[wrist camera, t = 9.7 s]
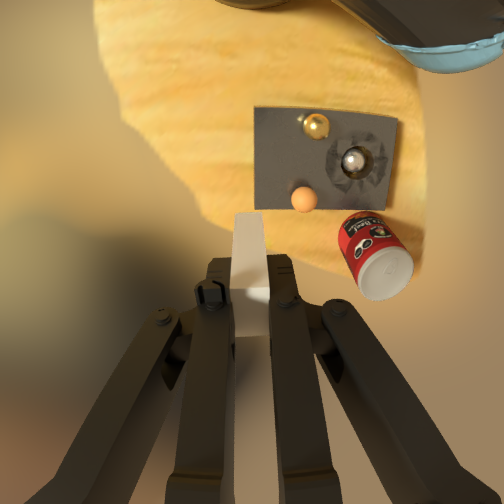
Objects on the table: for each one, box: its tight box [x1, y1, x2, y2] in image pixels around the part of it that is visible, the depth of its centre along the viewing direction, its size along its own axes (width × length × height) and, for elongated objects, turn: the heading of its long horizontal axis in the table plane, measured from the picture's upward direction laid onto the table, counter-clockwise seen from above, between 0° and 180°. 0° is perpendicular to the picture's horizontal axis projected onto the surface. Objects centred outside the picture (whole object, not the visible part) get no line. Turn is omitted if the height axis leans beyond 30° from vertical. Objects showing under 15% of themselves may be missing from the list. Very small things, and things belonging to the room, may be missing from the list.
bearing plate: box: [253, 106, 398, 211], centre depth 36 cm, size 13×18×2 cm
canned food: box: [338, 211, 414, 301], centre depth 39 cm, size 8×8×11 cm
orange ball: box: [291, 187, 317, 213], centre depth 36 cm, size 3×3×3 cm
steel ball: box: [341, 148, 365, 172], centre depth 36 cm, size 3×3×3 cm
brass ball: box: [303, 114, 331, 141], centre depth 31 cm, size 3×3×3 cm
